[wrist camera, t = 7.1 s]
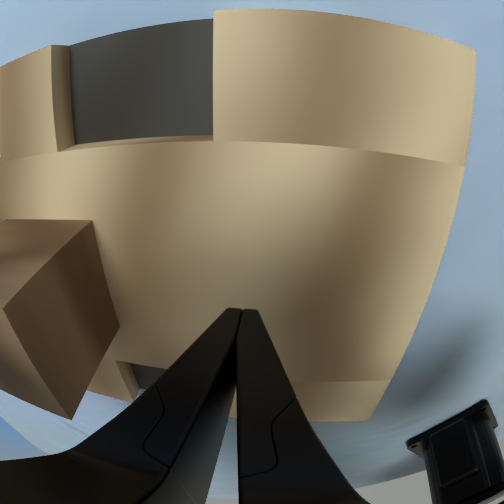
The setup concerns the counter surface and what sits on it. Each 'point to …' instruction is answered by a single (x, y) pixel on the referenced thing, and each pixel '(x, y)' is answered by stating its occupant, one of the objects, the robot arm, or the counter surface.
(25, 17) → the counter surface
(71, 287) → the walnut block
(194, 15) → the counter surface
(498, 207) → the counter surface
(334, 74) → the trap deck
